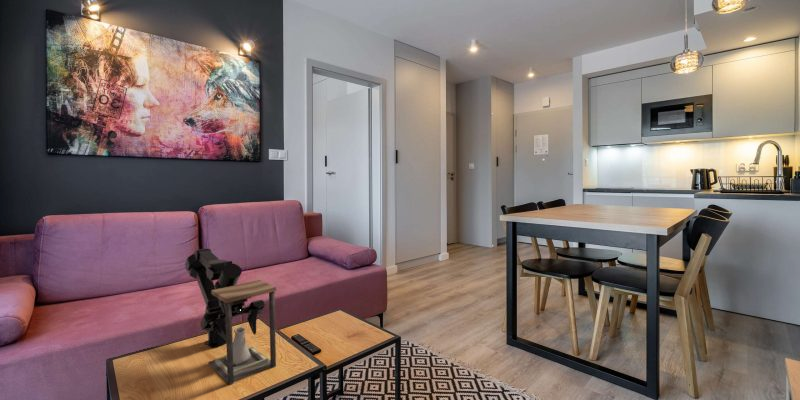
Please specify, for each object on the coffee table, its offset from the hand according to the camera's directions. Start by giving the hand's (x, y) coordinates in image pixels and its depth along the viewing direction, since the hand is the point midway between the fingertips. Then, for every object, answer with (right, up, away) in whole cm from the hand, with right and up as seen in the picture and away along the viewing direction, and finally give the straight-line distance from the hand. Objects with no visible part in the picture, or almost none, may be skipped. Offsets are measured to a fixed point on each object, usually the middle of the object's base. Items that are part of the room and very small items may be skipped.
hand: (242, 338), depth 113 cm
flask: (-3, -8, +3) cm, 9 cm away
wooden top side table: (-1, -9, +2) cm, 9 cm away
